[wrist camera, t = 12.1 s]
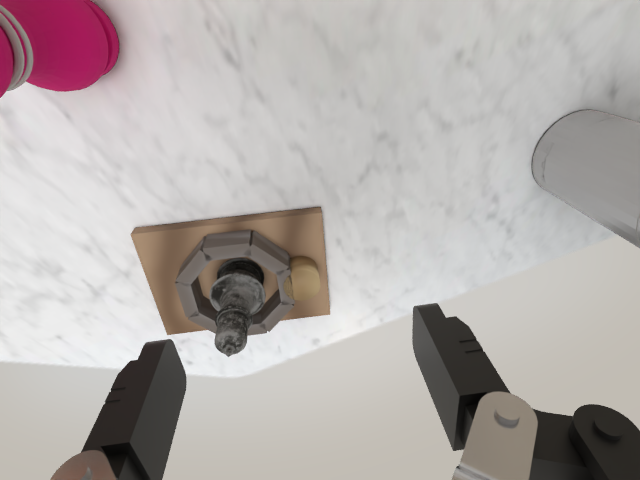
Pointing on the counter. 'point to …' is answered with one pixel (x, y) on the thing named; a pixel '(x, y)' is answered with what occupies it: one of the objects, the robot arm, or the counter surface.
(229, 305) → the salt shaker
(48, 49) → the pepper mill
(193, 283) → the board
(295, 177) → the counter surface
